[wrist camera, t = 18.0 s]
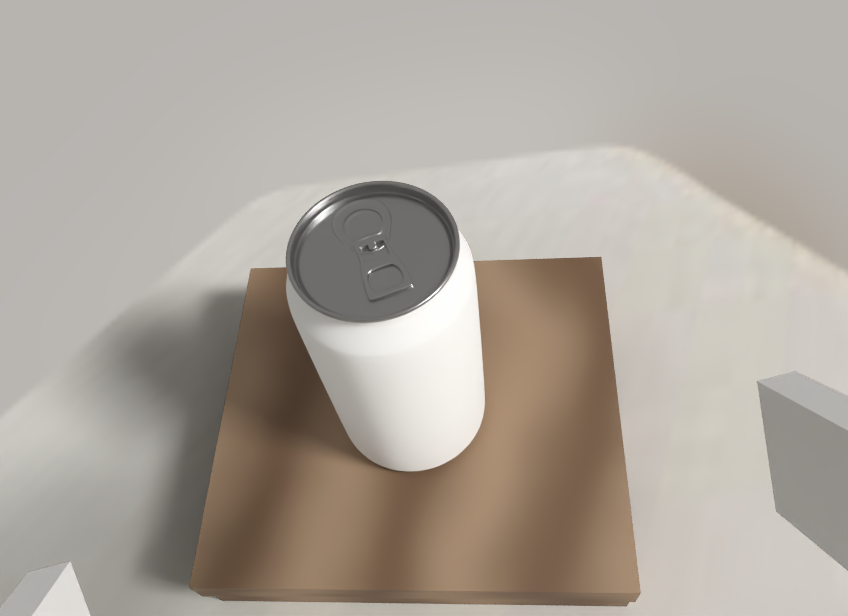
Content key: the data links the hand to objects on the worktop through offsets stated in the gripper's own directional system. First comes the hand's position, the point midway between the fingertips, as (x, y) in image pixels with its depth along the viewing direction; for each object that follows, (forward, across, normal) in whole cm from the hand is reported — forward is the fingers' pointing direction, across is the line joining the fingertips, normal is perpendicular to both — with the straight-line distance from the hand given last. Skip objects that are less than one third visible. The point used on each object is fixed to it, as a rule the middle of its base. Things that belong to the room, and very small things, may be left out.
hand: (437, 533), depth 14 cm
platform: (+22, 0, -7) cm, 23 cm away
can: (+20, 0, -4) cm, 20 cm away
